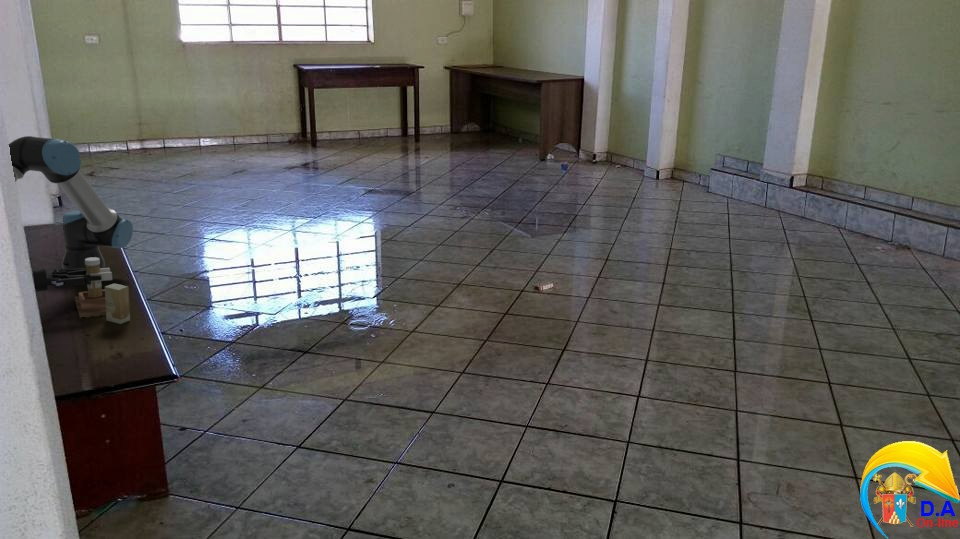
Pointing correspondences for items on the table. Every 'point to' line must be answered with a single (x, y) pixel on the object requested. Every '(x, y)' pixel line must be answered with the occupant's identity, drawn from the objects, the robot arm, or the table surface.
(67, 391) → the table surface
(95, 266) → the sprinkles bottle
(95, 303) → the collar plate
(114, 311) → the skincare box
